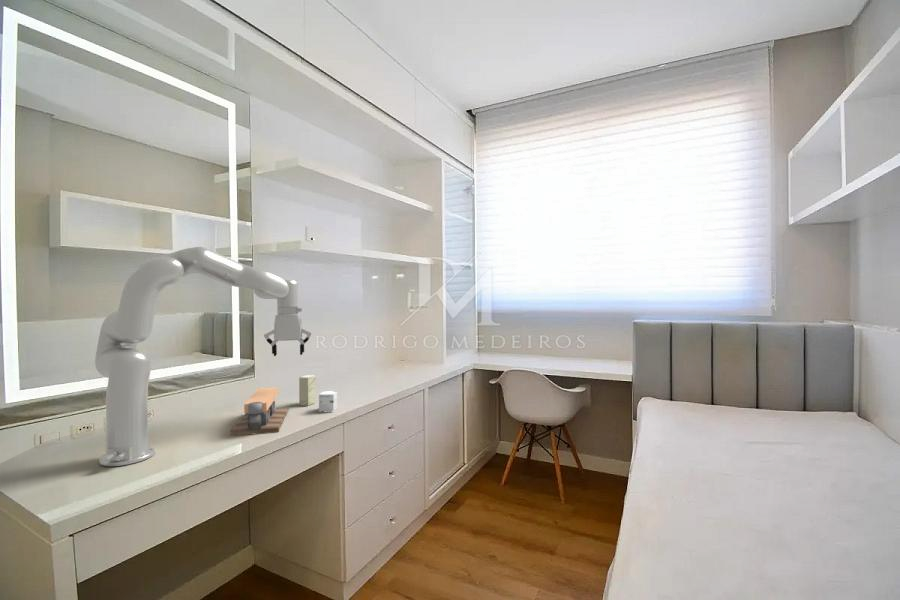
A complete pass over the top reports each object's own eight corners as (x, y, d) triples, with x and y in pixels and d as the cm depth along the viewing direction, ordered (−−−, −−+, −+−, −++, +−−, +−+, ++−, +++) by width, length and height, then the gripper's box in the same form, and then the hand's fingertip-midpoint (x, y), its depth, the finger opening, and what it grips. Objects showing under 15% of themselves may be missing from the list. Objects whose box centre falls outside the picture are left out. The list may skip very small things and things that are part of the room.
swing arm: (265, 413, 140) (265, 404, 140) (242, 414, 138) (242, 405, 138) (277, 394, 166) (277, 387, 166) (258, 395, 164) (258, 388, 164)
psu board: (278, 432, 141) (278, 413, 141) (229, 436, 138) (229, 416, 138) (288, 411, 167) (288, 394, 167) (248, 413, 164) (248, 397, 164)
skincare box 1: (308, 406, 175) (308, 377, 175) (298, 405, 176) (298, 377, 176) (315, 402, 181) (315, 374, 181) (306, 402, 182) (306, 374, 182)
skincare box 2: (318, 412, 166) (318, 394, 166) (322, 408, 172) (322, 390, 172) (333, 412, 166) (333, 394, 166) (337, 408, 172) (337, 390, 172)
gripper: (311, 310, 168) (312, 352, 168) (265, 311, 163) (266, 354, 164) (310, 311, 160) (311, 355, 161) (262, 312, 156) (262, 357, 156)
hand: (288, 354), depth 162 cm, fingers open, 9 cm apart
